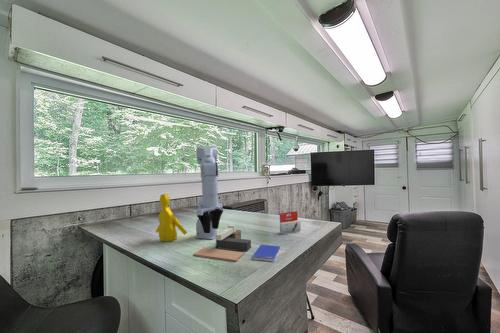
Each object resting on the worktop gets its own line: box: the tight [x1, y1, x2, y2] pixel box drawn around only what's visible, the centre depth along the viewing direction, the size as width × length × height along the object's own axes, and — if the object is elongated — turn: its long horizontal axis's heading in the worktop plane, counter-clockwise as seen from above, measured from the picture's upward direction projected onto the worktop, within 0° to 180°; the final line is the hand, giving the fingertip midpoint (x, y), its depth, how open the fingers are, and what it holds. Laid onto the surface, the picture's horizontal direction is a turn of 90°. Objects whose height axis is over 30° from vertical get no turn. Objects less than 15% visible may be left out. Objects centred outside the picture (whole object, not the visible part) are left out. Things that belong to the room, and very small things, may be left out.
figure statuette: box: [155, 193, 188, 242], centre depth 101 cm, size 18×8×22 cm, turn 73°
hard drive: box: [251, 244, 281, 262], centre depth 81 cm, size 2×8×12 cm
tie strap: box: [215, 224, 237, 241], centre depth 91 cm, size 3×13×3 cm, turn 158°
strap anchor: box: [226, 229, 242, 239], centre depth 97 cm, size 5×6×4 cm
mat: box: [192, 247, 245, 263], centre depth 81 cm, size 18×7×1 cm, turn 68°
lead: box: [215, 238, 252, 252], centre depth 88 cm, size 14×4×4 cm, turn 68°
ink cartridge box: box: [279, 210, 301, 235], centre depth 107 cm, size 2×11×10 cm, turn 115°
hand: (211, 230), depth 80 cm, fingers open, 5 cm apart
